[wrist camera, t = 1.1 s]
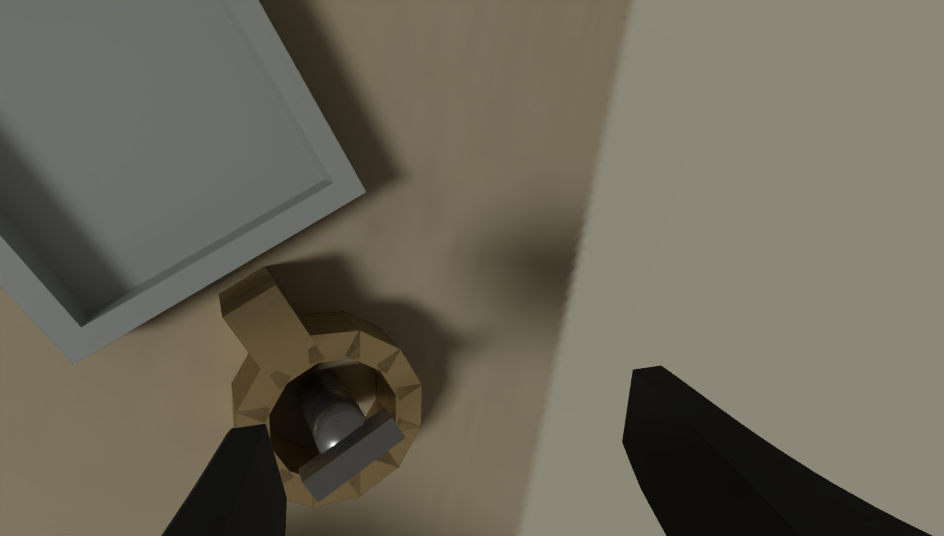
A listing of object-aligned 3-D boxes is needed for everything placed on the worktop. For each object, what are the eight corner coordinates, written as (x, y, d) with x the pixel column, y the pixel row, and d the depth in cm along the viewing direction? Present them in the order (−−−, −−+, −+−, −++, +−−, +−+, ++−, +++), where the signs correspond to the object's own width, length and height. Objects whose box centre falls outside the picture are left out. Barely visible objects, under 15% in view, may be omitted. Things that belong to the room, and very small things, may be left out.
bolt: (297, 434, 22) (325, 512, 17) (272, 400, 21) (294, 472, 17) (367, 385, 23) (412, 447, 18) (345, 351, 22) (385, 407, 18)
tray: (85, 341, 18) (72, 364, 16) (-232, -17, 14) (-300, -42, 12) (350, 187, 21) (366, 192, 19) (155, -153, 17) (150, -192, 15)
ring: (293, 500, 23) (306, 547, 20) (155, 331, 19) (149, 361, 17) (426, 402, 24) (454, 434, 22) (321, 233, 21) (339, 245, 18)
